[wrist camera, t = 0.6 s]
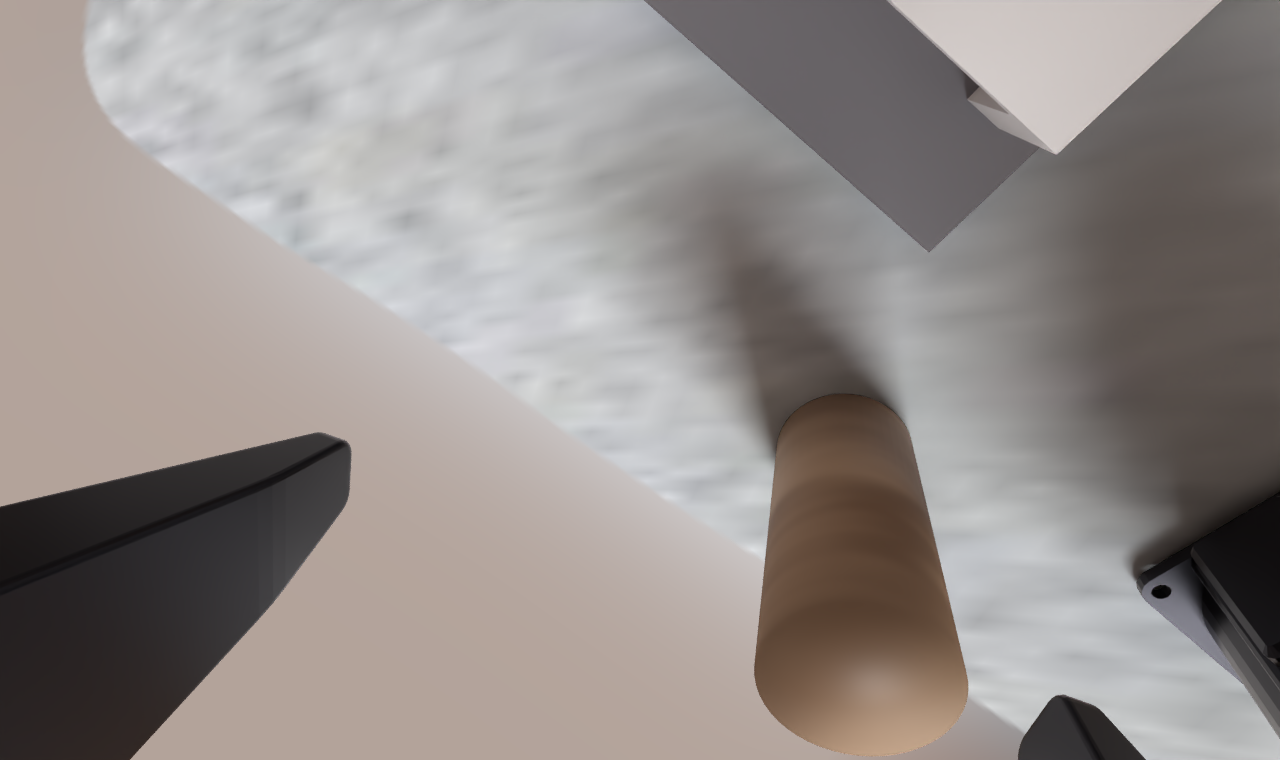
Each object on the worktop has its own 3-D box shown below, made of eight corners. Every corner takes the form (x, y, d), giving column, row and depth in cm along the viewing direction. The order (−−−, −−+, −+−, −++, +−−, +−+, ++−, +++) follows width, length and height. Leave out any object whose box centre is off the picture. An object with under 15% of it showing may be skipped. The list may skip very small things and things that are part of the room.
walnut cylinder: (942, 453, 21) (1016, 695, 13) (844, 529, 23) (858, 783, 15) (841, 367, 21) (856, 565, 13) (750, 452, 23) (713, 671, 15)
